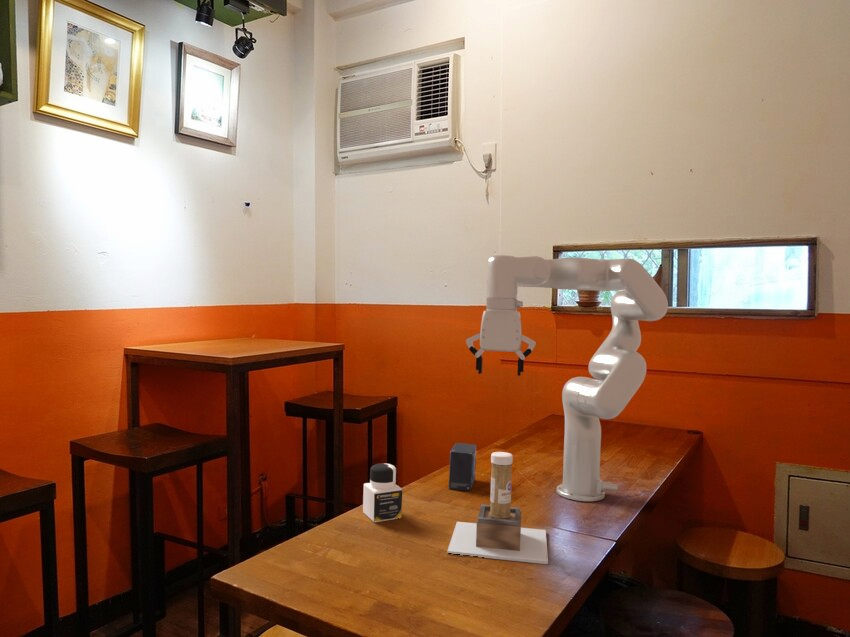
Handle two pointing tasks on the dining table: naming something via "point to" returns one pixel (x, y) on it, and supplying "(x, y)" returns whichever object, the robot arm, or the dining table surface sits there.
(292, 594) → the dining table surface
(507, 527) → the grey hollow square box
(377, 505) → the medicine bottle
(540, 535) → the white rectangular board
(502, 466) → the sprinkles bottle
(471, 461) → the small box
